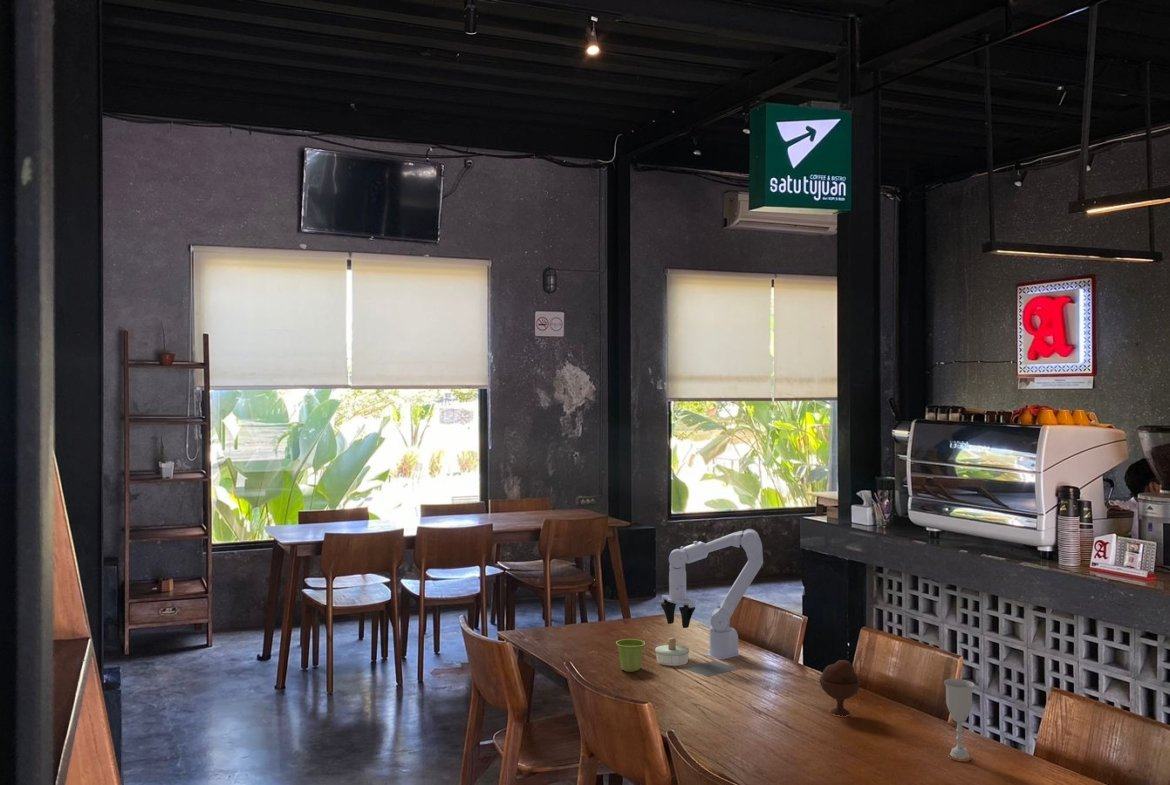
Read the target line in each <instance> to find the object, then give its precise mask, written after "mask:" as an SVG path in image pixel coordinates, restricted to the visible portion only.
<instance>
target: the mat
mask: <svg viewBox="0 0 1170 785" xmlns="http://www.w3.org/2000/svg"><path fill="white" fill-rule="evenodd" d="M682 670H686V671H689V672H692V673H695V674H699V675H702V676H705V677H711V676H717V675H721V674H724V673H729V672H732V671H737V670H740V667H739V668H738V667H735V666H733V665H729V664H726V663H723V662H719V661H715V660H711V661H707V662H703V663H698V664H695V665H689V666H685V667H682Z"/></svg>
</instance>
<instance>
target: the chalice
mask: <svg viewBox="0 0 1170 785" xmlns="http://www.w3.org/2000/svg"><path fill="white" fill-rule="evenodd" d="M943 684H944V686H945V699H946V700H945V702H946V706H947V709H948V712H949V713H950V716H951V718H952V720H953V721H954V722H956V725H957V726H956V730H955V731H956V733H957V735H956V736H955V738H956V740H957V744H956V745H955V746H953V747H952V748H951V751H950V753H949V755H951V756H952V757H954V758H959V759H965V758H969V757H970V754H969V750H967V748H965V747H964V746H963V745H962V744H963V743H962V742H963V740H964V737H963V736H962V732H964V731H963V728H962V723H966V721H967V719H968V718H969V715H970V713H971V710H972V707H973V689H974V687H975V683H974V682H972V681H970V680H965V679H962V678H961V679H960V678H947V679H945V680H944V681H943Z"/></svg>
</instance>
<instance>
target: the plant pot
mask: <svg viewBox="0 0 1170 785" xmlns="http://www.w3.org/2000/svg"><path fill="white" fill-rule="evenodd" d="M615 645H616V646H617V649H618V655H619V663H620V664H619V666H620V670H622V671H624V672H627V673H629V672H630V673H634V672H636V671H639V670H641V665H642V664H641V663H642V658H643V657H642V656H643V650H644V647H645V645H646V642H645V640H641V639H636V638H626V639H625V638H623V639H619V640H617V641H615Z"/></svg>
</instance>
